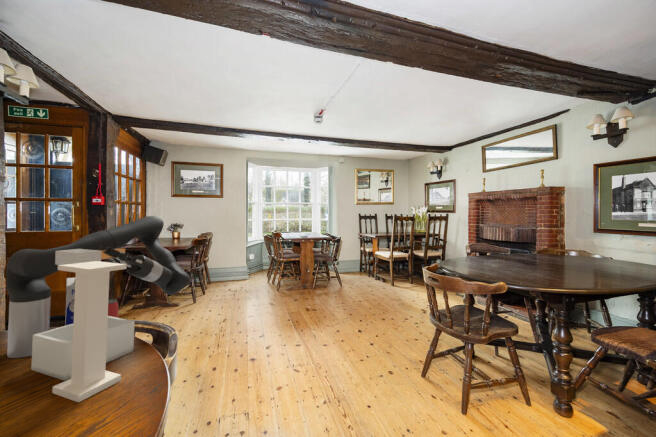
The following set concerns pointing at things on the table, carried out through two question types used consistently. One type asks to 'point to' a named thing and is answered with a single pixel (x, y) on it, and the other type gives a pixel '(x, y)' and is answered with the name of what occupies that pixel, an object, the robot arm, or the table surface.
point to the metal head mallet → (81, 256)
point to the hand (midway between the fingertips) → (103, 249)
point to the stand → (89, 331)
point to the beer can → (113, 308)
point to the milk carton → (70, 301)
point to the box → (57, 346)
